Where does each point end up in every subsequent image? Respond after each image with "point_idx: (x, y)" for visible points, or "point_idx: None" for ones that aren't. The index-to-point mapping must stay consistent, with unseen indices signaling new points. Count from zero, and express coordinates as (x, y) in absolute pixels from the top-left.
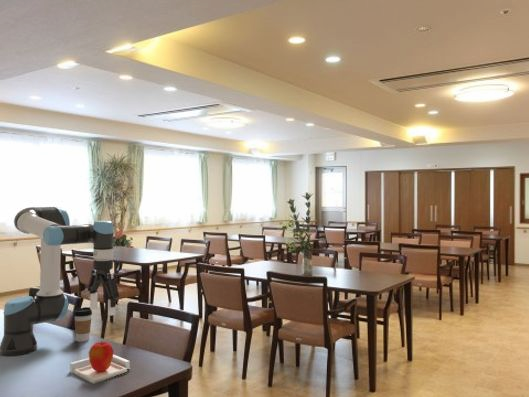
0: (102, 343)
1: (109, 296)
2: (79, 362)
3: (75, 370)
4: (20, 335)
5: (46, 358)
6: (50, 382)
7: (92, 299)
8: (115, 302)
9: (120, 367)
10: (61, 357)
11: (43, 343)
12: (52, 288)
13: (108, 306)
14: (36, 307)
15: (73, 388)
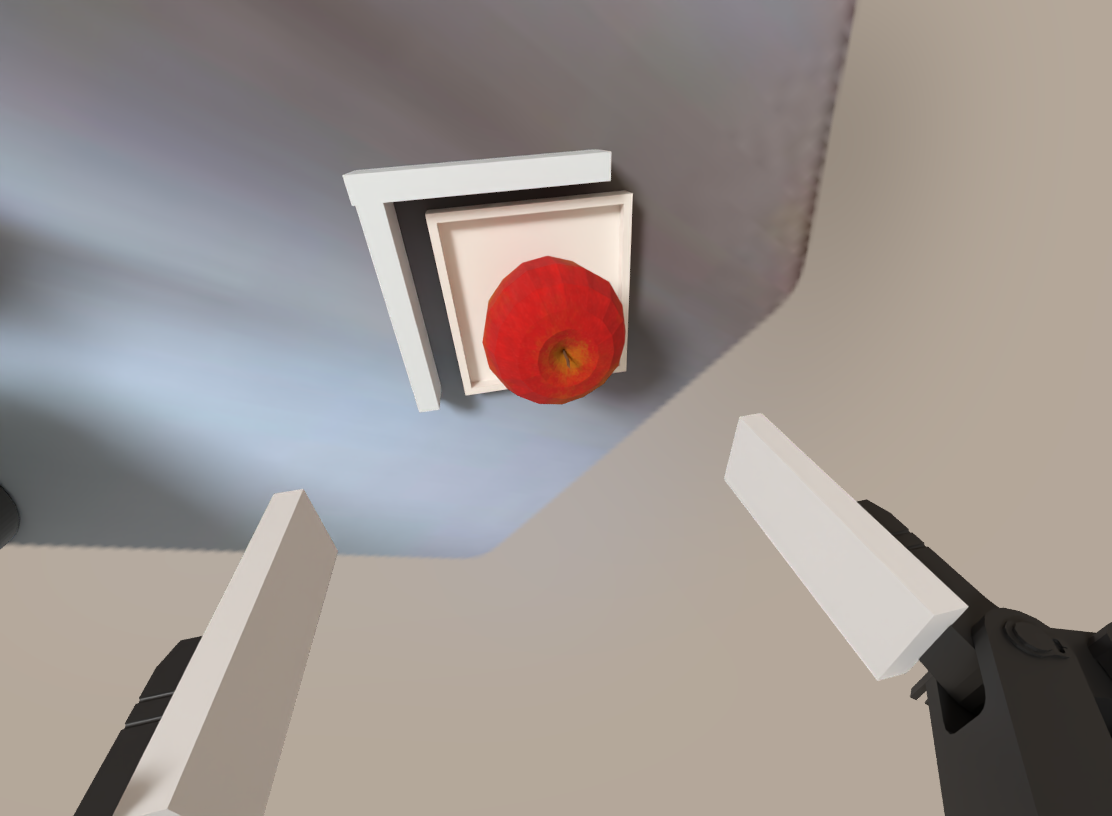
0: (553, 347)
1: (954, 728)
2: (430, 375)
3: (474, 393)
4: None
5: (134, 421)
6: (491, 464)
7: (284, 695)
8: (937, 555)
9: (581, 207)
10: (146, 362)
11: None
12: None
13: (803, 567)
14: None
15: (601, 424)
